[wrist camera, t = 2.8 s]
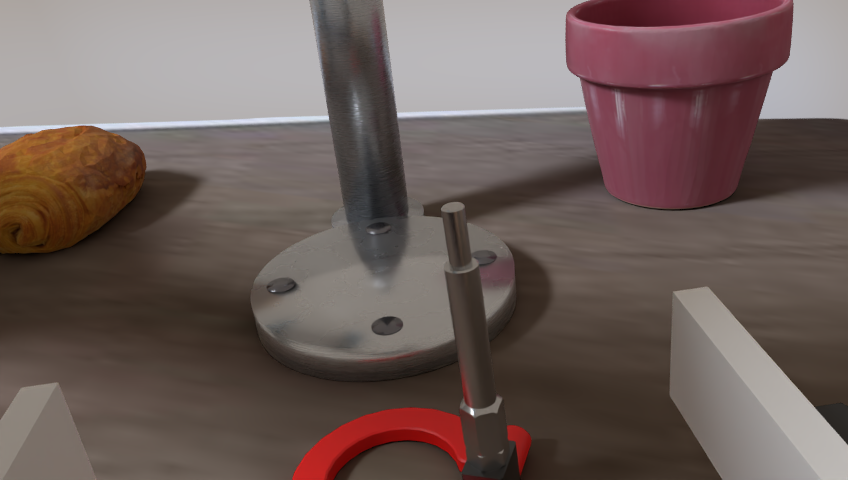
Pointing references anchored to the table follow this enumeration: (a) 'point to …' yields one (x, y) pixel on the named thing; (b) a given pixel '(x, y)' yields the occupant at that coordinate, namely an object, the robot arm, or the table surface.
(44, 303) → the table surface
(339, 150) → the paper towel holder
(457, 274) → the tow hook
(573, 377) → the table surface
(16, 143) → the croissant
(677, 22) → the plant pot
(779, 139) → the table surface
